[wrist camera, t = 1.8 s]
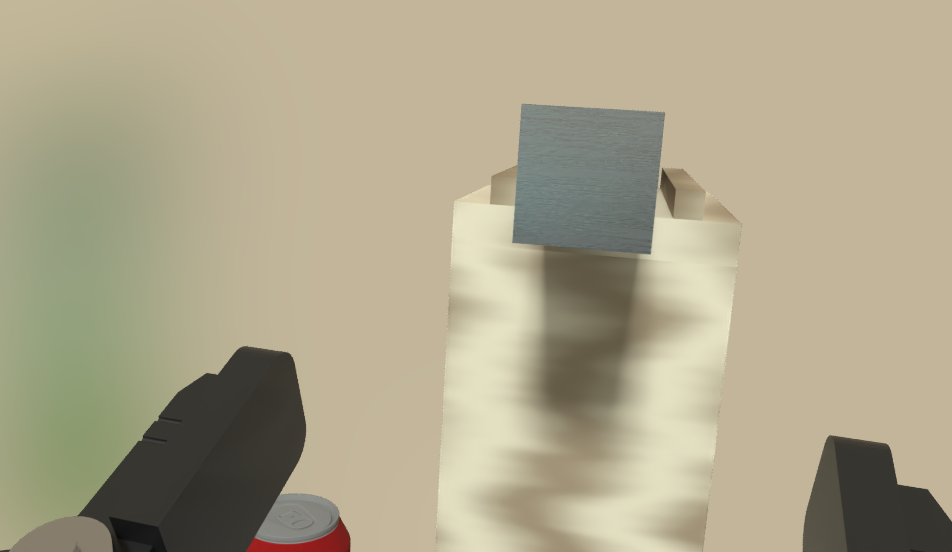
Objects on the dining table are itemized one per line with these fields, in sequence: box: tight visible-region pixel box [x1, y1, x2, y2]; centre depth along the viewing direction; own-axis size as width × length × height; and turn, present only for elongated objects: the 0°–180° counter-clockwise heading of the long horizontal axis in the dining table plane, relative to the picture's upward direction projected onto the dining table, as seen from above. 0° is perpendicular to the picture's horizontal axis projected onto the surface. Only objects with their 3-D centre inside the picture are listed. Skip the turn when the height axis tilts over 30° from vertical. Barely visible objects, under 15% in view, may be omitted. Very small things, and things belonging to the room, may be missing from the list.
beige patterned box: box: [435, 165, 742, 552], centre depth 39 cm, size 10×13×33 cm
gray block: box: [512, 104, 665, 255], centre depth 32 cm, size 5×22×4 cm, turn 170°
